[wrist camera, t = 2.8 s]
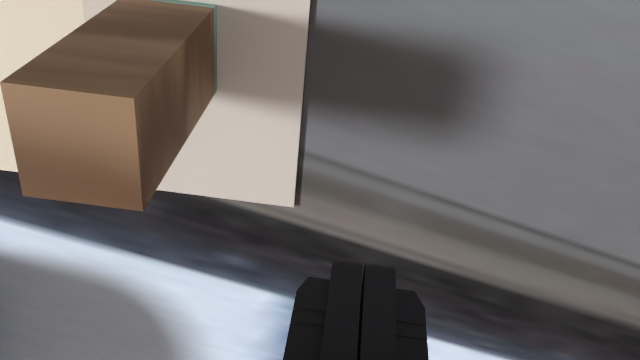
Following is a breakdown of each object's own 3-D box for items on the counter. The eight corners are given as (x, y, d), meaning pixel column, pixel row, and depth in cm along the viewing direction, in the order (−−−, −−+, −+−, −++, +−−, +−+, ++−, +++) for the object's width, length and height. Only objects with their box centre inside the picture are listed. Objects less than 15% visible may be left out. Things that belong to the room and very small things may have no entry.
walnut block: (125, -6, 26) (-1, 81, 18) (216, 4, 26) (133, 98, 18) (132, 80, 28) (23, 195, 20) (217, 90, 28) (142, 211, 20)
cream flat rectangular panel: (-186, -198, 24) (-190, -197, 24) (321, -143, 23) (321, -143, 23) (-80, 157, 32) (-83, 159, 32) (294, 205, 31) (293, 207, 31)
